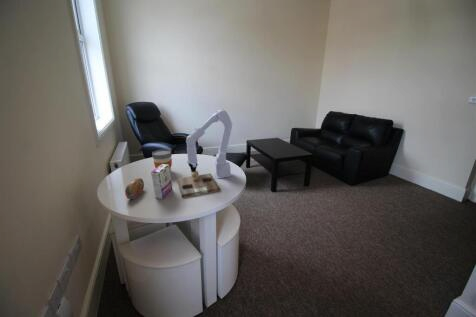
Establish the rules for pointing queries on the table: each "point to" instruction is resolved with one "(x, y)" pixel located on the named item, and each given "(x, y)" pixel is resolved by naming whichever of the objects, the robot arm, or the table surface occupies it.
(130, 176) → the table surface
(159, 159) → the orange jar
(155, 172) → the candy bar box
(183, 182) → the board
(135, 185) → the brown flattened oblong
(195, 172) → the maple block
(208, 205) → the table surface
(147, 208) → the table surface
